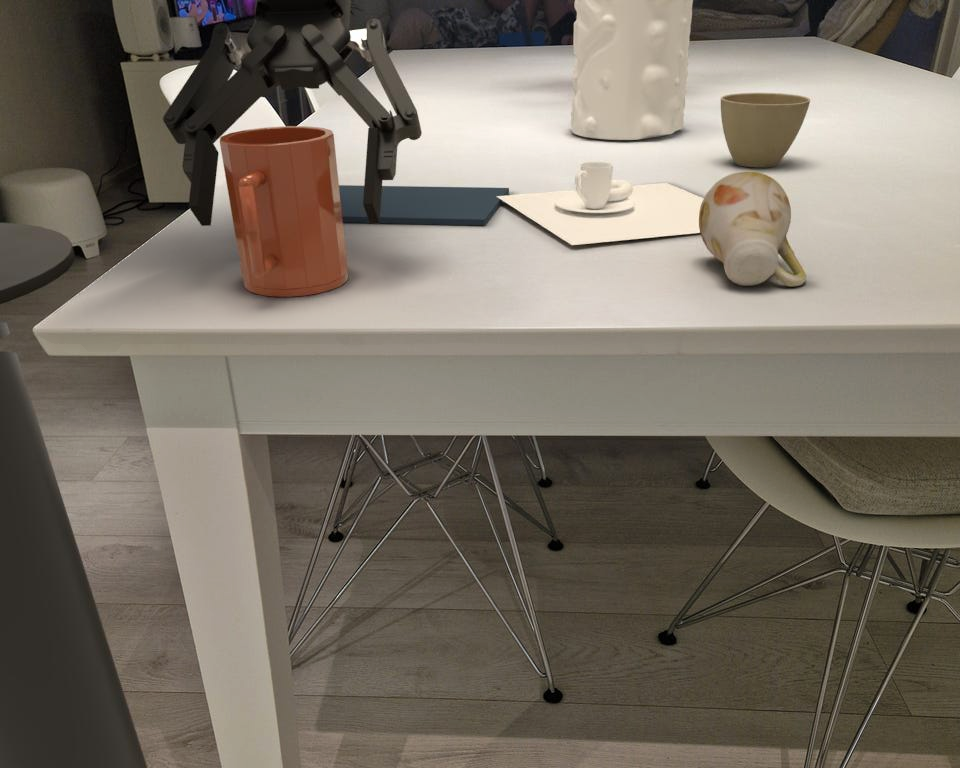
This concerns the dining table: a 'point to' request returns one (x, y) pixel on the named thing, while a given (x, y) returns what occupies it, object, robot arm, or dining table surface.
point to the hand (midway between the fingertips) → (284, 215)
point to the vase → (630, 68)
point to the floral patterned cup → (749, 229)
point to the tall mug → (286, 209)
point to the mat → (424, 204)
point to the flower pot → (761, 126)
